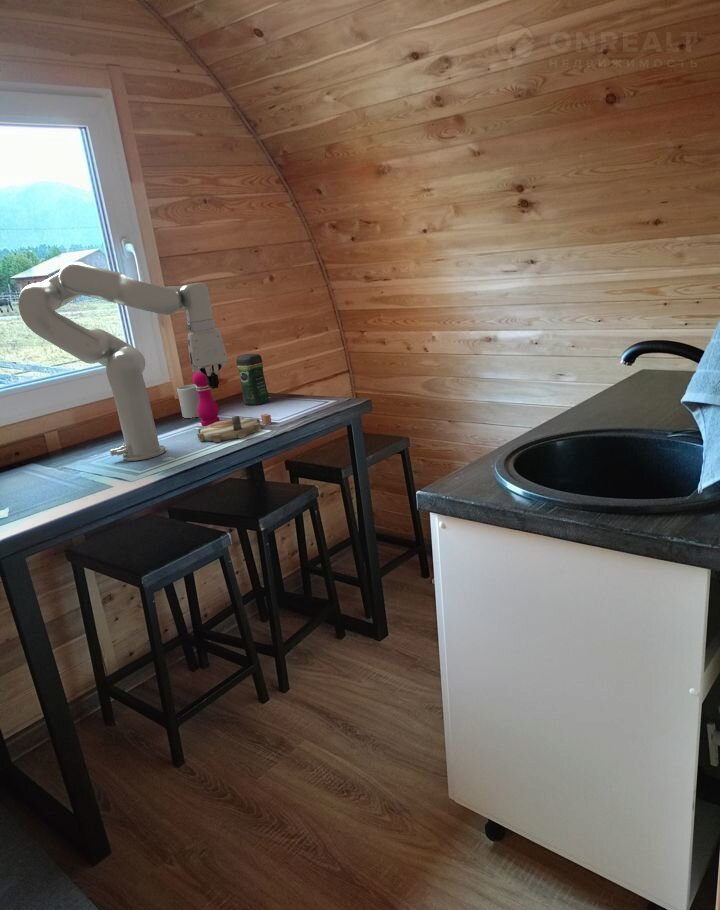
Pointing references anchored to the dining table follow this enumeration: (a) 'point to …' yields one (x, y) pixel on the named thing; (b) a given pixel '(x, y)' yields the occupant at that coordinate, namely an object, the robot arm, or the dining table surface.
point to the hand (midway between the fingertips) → (214, 387)
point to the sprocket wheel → (229, 429)
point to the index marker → (266, 419)
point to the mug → (188, 400)
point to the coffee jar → (252, 379)
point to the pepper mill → (205, 400)
